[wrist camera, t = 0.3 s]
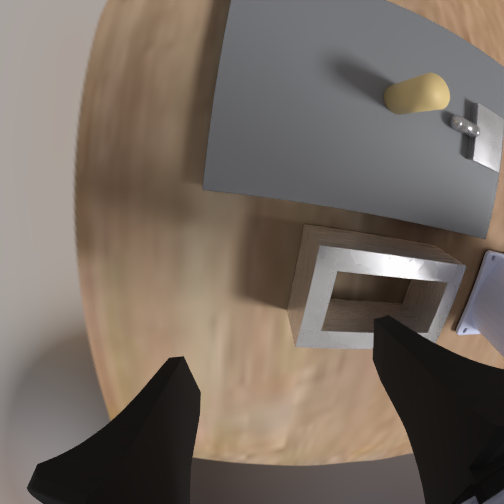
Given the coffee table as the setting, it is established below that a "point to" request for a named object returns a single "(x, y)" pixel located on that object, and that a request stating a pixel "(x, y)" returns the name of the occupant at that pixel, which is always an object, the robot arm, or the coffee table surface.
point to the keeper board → (352, 111)
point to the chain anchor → (482, 136)
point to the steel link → (373, 263)
